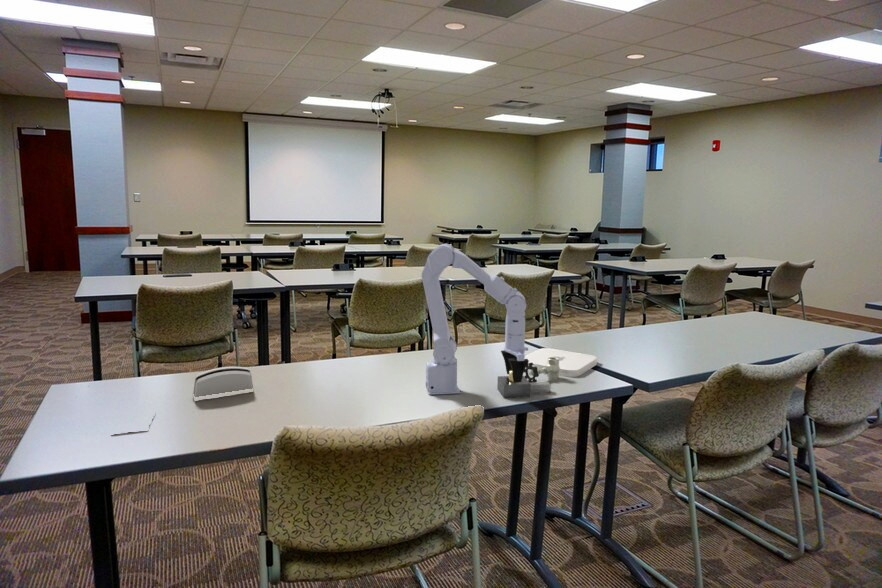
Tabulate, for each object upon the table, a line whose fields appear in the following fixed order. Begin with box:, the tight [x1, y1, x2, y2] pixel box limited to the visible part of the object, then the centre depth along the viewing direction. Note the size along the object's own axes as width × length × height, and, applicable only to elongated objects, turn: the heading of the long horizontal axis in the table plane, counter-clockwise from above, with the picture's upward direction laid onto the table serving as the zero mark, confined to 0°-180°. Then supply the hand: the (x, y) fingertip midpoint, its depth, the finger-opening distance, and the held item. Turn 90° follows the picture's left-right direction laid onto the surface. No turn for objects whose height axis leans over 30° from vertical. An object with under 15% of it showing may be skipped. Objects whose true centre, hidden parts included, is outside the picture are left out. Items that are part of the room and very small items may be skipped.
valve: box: [523, 357, 560, 383], centre depth 178 cm, size 7×7×12 cm
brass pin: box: [508, 370, 514, 383], centre depth 165 cm, size 3×3×6 cm
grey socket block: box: [496, 375, 552, 399], centre depth 166 cm, size 15×8×4 cm, turn 97°
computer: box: [525, 347, 598, 378], centre depth 195 cm, size 22×22×3 cm
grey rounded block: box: [192, 366, 254, 397], centre depth 162 cm, size 17×5×10 cm, turn 119°
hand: (513, 377), depth 165 cm, fingers open, 7 cm apart
